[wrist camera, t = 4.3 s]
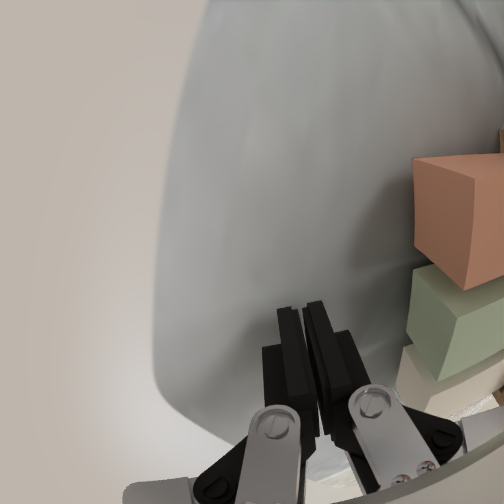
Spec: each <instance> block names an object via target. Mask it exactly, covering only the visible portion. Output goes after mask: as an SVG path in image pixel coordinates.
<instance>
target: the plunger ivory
mask: <svg viewBox="0 0 504 504" xmlns="http://www.w3.org/2000/svg"><path fill="white" fill-rule="evenodd" d="M502 386H504V348H503V349H502V350H500V351H498V352H497V353H495V354H493V355H491V356H489V357H488V358H486V359H484V360H482V361H480V362H478V363H477V364H475V365H473V366H471V367H469V368H467V369H465V370H463V371H461V372H459V373H456V374H454V375H452V376H450V377H448V378H446V379H443V380H441V381H439V382H436V380H435V378H434V377H433V375H432V373H431V372H430V370H429V368H428V366H427V365H426V363H425V361H424V360H423V358H422V356H421V355H420V353H419V351H418V350H417V348H416V346H415V345H414V343H413V344H410V345H407V346H404V347H403V352H402V357H401V362H400V366H399V371H398V376H397V380H396V384H395V388H396V390H397V392H398V395H399V397H400V399H401V401H402V404H403V405H404V406H407V407H410V408H413V409H416V410H419V411H422V412H425V413H428V414H431V415H434V416H437V417H441V418H444V419H445V418H447V417H449V416H451V415H453V414H455V413H457V412H459V411H461V410H463V409H465V408H467V407H469V406H471V405H472V404H474V403H476V402H478V401H479V400H481V399H483V398H485V397H486V396H488V395H490V394H491V393H493V392H494V391H496V390H498V389H499V388H501V387H502Z"/></svg>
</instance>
